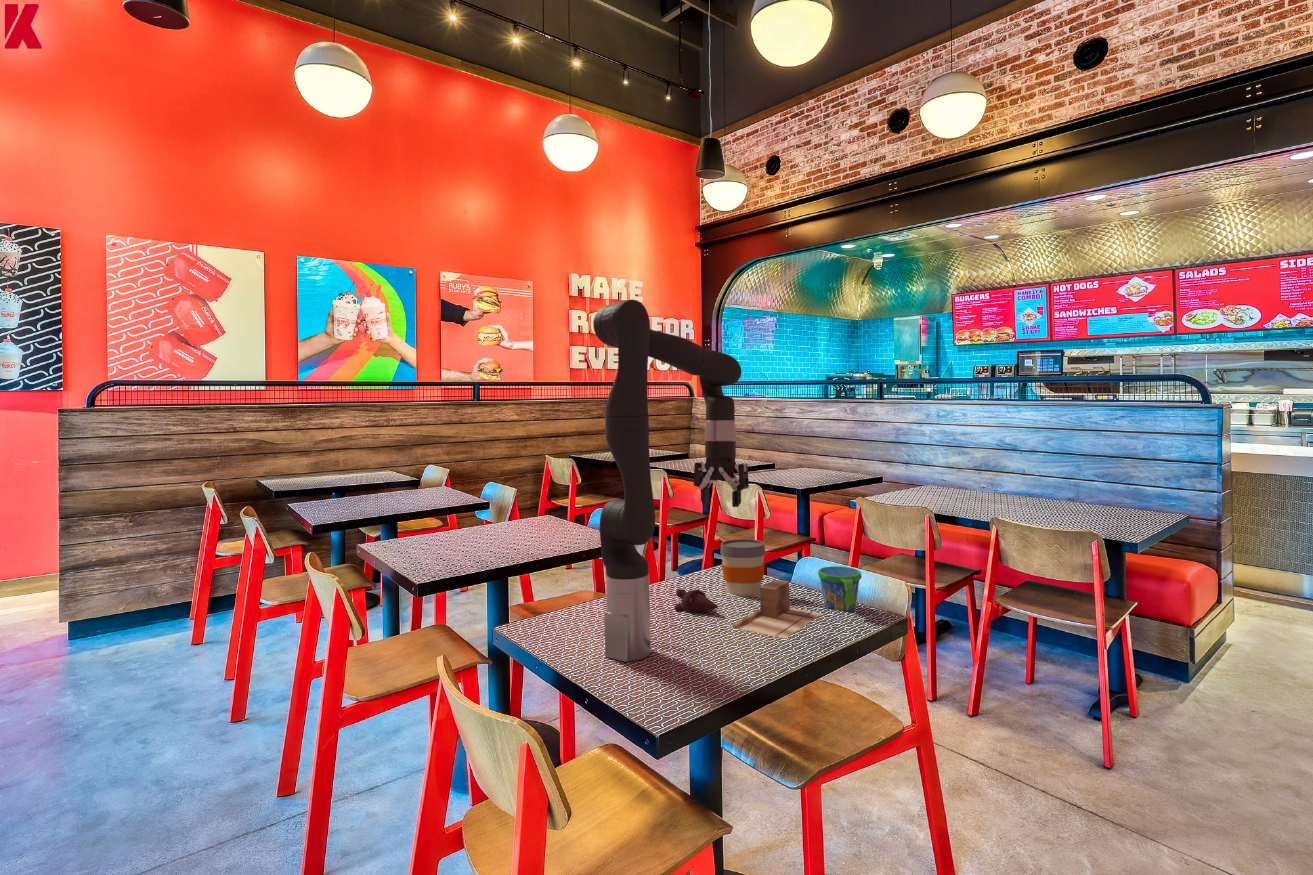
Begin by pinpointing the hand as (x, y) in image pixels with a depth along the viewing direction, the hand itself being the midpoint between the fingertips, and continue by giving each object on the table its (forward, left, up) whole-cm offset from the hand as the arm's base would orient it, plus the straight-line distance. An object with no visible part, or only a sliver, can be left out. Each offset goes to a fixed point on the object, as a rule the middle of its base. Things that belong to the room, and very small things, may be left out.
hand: (720, 505), depth 154 cm
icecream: (+1, +9, -29) cm, 30 cm away
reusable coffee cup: (+23, +7, -29) cm, 37 cm away
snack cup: (+25, -20, -29) cm, 43 cm away
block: (+10, -9, -27) cm, 30 cm away
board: (+5, -12, -29) cm, 32 cm away
